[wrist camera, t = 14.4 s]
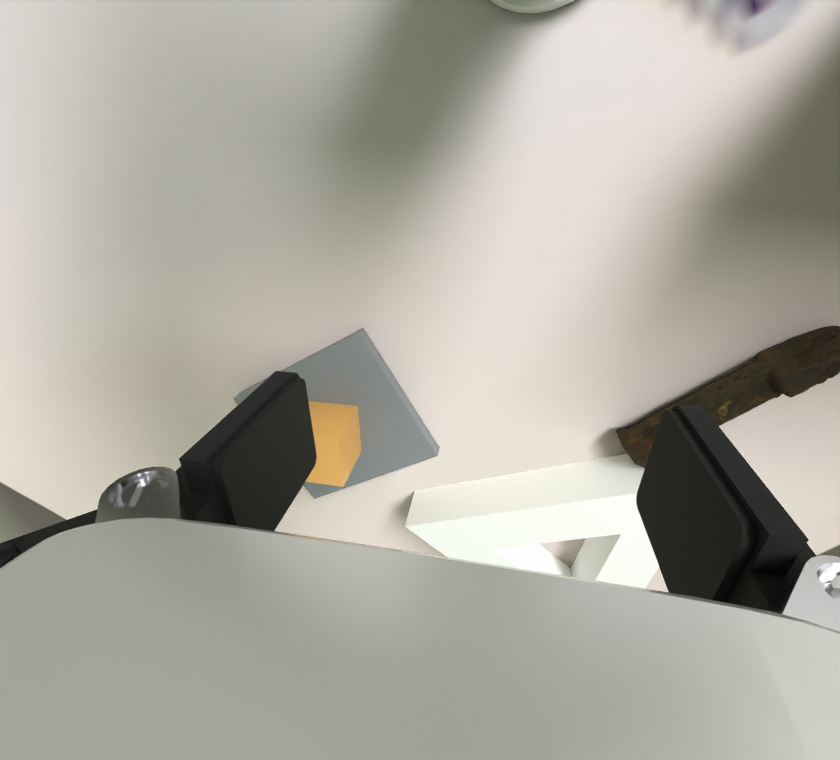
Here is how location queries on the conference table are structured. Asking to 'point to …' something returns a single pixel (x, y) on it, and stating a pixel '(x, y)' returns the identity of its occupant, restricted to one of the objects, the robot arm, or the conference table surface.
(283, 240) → the conference table surface
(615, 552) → the triangle block
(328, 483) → the orange cube
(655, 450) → the robot arm
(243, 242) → the conference table surface
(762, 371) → the brown piece
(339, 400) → the peg board
